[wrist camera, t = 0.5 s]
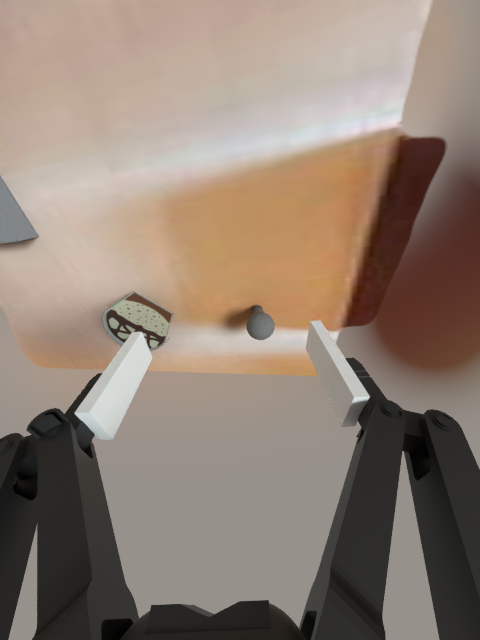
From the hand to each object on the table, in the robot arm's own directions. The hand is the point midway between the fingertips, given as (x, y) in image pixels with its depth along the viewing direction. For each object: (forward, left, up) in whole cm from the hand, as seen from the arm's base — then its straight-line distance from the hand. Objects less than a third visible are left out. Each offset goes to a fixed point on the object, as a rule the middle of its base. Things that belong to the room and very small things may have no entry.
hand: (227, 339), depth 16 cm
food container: (+11, -21, -27) cm, 36 cm away
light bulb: (+13, +4, -27) cm, 31 cm away
